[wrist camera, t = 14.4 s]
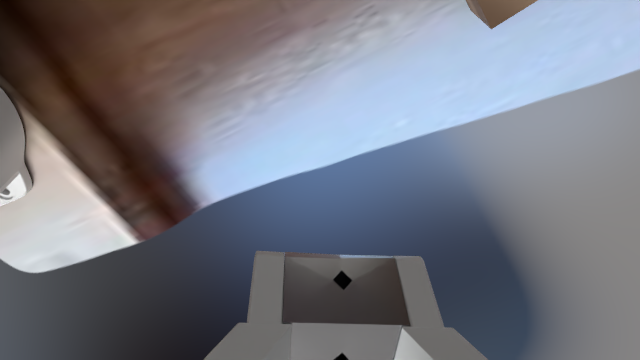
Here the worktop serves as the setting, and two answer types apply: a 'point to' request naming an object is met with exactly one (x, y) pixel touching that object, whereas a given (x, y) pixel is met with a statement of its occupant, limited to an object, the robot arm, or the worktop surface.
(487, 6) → the jamb block
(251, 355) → the robot arm
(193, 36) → the worktop surface
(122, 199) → the worktop surface
